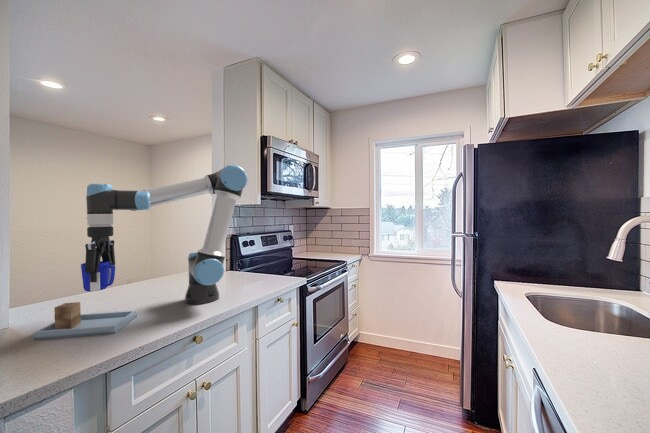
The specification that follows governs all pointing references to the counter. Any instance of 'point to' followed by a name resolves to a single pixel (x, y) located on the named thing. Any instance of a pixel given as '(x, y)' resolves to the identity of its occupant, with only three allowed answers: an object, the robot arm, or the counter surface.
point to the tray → (89, 325)
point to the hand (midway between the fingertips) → (101, 287)
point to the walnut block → (67, 315)
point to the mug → (103, 275)
